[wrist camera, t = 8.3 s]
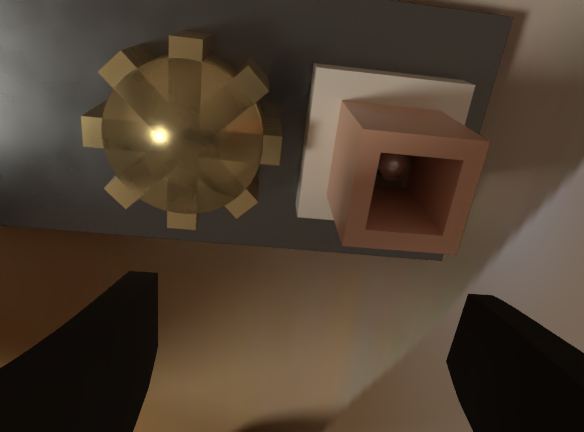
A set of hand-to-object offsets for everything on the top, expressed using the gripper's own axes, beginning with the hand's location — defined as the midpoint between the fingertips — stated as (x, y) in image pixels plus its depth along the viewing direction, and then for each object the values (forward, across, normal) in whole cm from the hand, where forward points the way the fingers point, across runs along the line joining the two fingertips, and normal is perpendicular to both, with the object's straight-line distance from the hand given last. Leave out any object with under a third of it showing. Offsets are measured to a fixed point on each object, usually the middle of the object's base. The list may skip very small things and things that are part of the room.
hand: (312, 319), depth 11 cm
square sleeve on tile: (+9, -3, -2) cm, 9 cm away
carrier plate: (+10, +4, -2) cm, 11 cm away
